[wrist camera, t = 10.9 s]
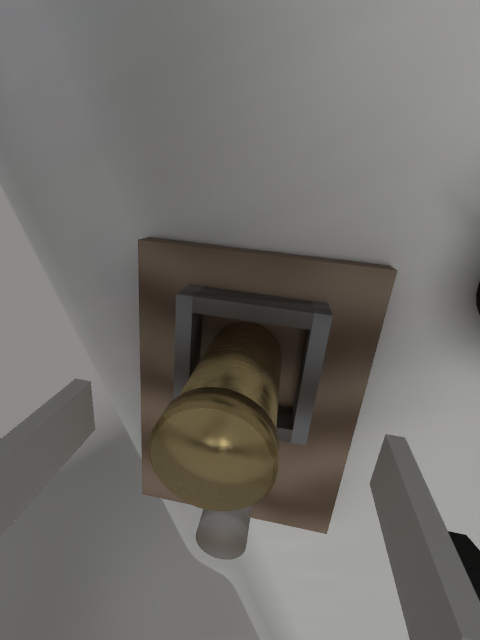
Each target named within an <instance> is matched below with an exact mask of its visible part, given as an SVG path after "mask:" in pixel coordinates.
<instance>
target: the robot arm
mask: <svg viewBox="0 0 480 640" xmlns="http://www.w3.org/2000/svg"><path fill="white" fill-rule="evenodd" d="M94 430H95V423H94V412H93V402H92V391H91V381H85V380H80V379H74V380H73V381H72V382H71V383H69V384H68V385H67V386H66V387H65V388H63V389H62V390H61V391H60V392H58V393H57V394H56V395H55V396H53V397H52V398H51V399H50V400H48V401H47V402H46V403H45V404H44V405H42V406H41V407H40V408H39V409H37V410H36V411H35V412H34V413H32V414H31V415H30V416H29V417H28V418H26V419H25V420H24V421H23V422H21V423H20V424H19V425H18V426H17V427H15V428H14V429H13V430H11V431H10V432H9V433H8V434H7V435H5V436H4V437H3V438H2V439H0V537H1V536H2V535H3V534H4V533H5V532H6V530H7V529H8V528H9V527H10V526H11V525H12V524H13V523H14V521H15V520H16V519H17V518H18V517H19V515H21V513H22V512H23V511H24V510H25V509H26V508H27V507H28V505H29V504H30V503H31V502H32V501H33V500H34V498H35V497H36V496H37V495H38V494H39V493H40V492H41V490H42V489H43V488H44V487H45V486H46V485H47V484H48V482H49V481H50V480H51V479H52V478H53V477H54V476H55V474H56V473H57V472H58V471H59V470H60V469H61V467H62V466H63V465H64V464H65V463H66V462H67V461H68V460H69V459H70V457H71V456H72V455H73V454H74V453H75V452H76V451H77V449H78V448H79V447H80V446H81V445H82V444H83V443H84V441H85V440H86V439H87V438H88V437H89V436H90V435H91V433H92V432H93V431H94ZM370 487H371V490H372V494H373V498H374V502H375V506H376V510H377V514H378V518H379V522H380V525H381V529H382V533H383V537H384V541H385V545H386V549H387V553H388V557H389V560H390V564H391V568H392V572H393V576H394V580H395V584H396V588H397V591H398V595H399V599H400V603H401V607H402V611H403V615H404V619H405V623H406V626H407V630H408V634H409V638H410V640H480V550H479V549H478V548H477V547H476V546H475V545H474V543H473V542H472V541H471V540H470V539H469V538H468V537H467V535H463V534H459V533H454V532H449V531H447V529H446V526H445V524H444V522H443V520H442V518H441V515H440V513H439V511H438V509H437V507H436V504H435V502H434V500H433V498H432V496H431V493H430V491H429V489H428V487H427V485H426V483H425V480H424V478H423V476H422V474H421V472H420V469H419V467H418V465H417V463H416V461H415V458H414V456H413V454H412V452H411V450H410V447H409V445H408V443H407V441H406V439H405V438H404V437H399V436H393V435H388V434H386V435H385V438H384V441H383V444H382V447H381V450H380V453H379V456H378V460H377V463H376V466H375V469H374V472H373V475H372V478H371V481H370Z"/></svg>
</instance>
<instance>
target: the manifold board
mask: <svg viewBox="0 0 480 640" xmlns="http://www.w3.org/2000/svg"><path fill="white" fill-rule="evenodd" d="M138 261H139V318H140V374H141V431H142V483H143V484H142V487H143V494H145V495H149V496H154V497H158V498H163V499H168V500H172V501H177V502H182V503H186V504H189V503H187V502H185V501H183V500H182V499H180V498H178V497H177V496H176V495H174V494H173V493H172V492H171V491H170V490H169V489H167V487H166V486H165V485H164V484H163V483H162V482H161V480H160V479H159V477H158V476H157V475H156V473H155V471H154V469H153V467H152V464H151V462H150V458H149V452H148V444H149V438H150V434H151V432H152V429H153V428H154V426H155V425H156V423H157V421H158V420H159V418H160V417H161V415H162V414H163V412H164V410H165V409H166V407H167V406H168V405H169V403H170V402H171V401H172V400H173V399H175V398H176V397H177V396H179V394H180V393H181V391H182V390H183V388H184V386H185V385H186V383H187V381H188V380H189V378H190V376H191V375H192V373H193V371H194V370H195V368H196V367H197V365H198V363H199V362H200V360H201V358H202V357H203V355H204V353H205V352H206V350H207V348H208V347H209V345H210V344H211V342H212V340H213V339H214V337H215V336H216V334H217V333H218V332H219V331H220V330H221V329H222V328H224V327H225V326H227V325H229V324H232V323H235V322H243V321H245V322H253V323H256V324H259V325H261V326H263V327H265V328H266V329H268V330H269V331H270V332H271V333H272V334H273V335H274V336H275V337H276V339H277V340H278V342H279V344H280V347H281V351H282V364H281V376H280V389H279V401H278V413H277V425H276V430H277V432H278V437H279V461H278V474H277V478H276V481H275V483H274V485H273V487H272V489H271V490H270V492H269V493H268V494H267V495H266V496H265V497H264V498H262V499H261V500H260V501H258V502H257V503H255V504H253V505H251V506H248V507H246V508H242V509H238V510H233V511H212V510H206V509H203V512H202V516H201V519H200V522H199V526H198V529H197V532H196V541H197V543H198V545H199V547H200V548H201V549H202V550H203V551H204V552H206V553H207V554H209V555H211V556H213V557H215V558H219V559H234V558H237V557H239V556H241V555H242V554H243V553H244V551H245V549H246V543H247V536H248V529H249V522H250V517H251V518H255V519H260V520H265V521H269V522H274V523H279V524H283V525H288V526H292V527H297V528H302V529H306V530H311V531H316V532H320V533H325V534H327V531H328V527H329V523H330V520H331V516H332V512H333V508H334V505H335V501H336V497H337V494H338V490H339V486H340V482H341V479H342V475H343V471H344V467H345V464H346V460H347V456H348V452H349V449H350V445H351V441H352V437H353V434H354V430H355V426H356V423H357V419H358V415H359V411H360V408H361V404H362V400H363V396H364V393H365V389H366V385H367V381H368V378H369V374H370V370H371V367H372V363H373V359H374V355H375V352H376V348H377V344H378V340H379V337H380V333H381V329H382V325H383V322H384V318H385V314H386V310H387V307H388V303H389V299H390V296H391V292H392V288H393V284H394V281H395V277H396V273H397V270H396V269H394V268H393V267H391V266H387V265H378V264H370V263H361V262H352V261H344V260H335V259H327V258H318V257H310V256H301V255H293V254H284V253H276V252H267V251H259V250H250V249H242V248H233V247H225V246H216V245H208V244H199V243H191V242H182V241H174V240H165V239H157V238H143V239H139V240H138Z"/></svg>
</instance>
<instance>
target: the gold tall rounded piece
mask: <svg viewBox="0 0 480 640" xmlns="http://www.w3.org/2000/svg"><path fill="white" fill-rule="evenodd" d="M281 364H282V351H281V347H280V344H279V342H278V340H277V339H276V337H275V336H274V335H273V334H272V333H271V332H270V331H269V330H268V329H266V328H265V327H263V326H261V325H259V324H256V323H253V322H245V321H243V322H235V323H232V324H229V325H227V326H225V327H224V328H222V329H221V330H220V331H219V332H218V333H217V334H216V336H215V337H214V339H213V340H212V342H211V344H210V345H209V347H208V348H207V350H206V352H205V353H204V355H203V357H202V358H201V360H200V362H199V363H198V365H197V367H196V368H195V370H194V371H193V373H192V375H191V376H190V378H189V380H188V381H187V383H186V385H185V386H184V388H183V390H182V391H181V393H180V394H179V396H177V397H176V398H175V399H173V400H172V401H171V402H170V403H169V405H168V406H167V407H166V409H165V410H164V412H163V414H162V415H161V417H160V418H159V420H158V421H157V423H156V425H155V426H154V428H153V429H152V432H151V434H150V438H149V444H148V452H149V458H150V462H151V464H152V467H153V469H154V471H155V473H156V475H157V476H158V477H159V479H160V480H161V482H162V483H163V484H164V485H165V486H166V487H167V489H169V490H170V491H171V492H172V493H173V494H174V495H176V496H177V497H178V498H180V499H182V500H183V501H185V502H187V503H189V504H191V505H194V506H196V507H199V508H203V509H206V510H212V511H233V510H238V509H242V508H246V507H248V506H251V505H253V504H255V503H257V502H258V501H260V500H261V499H262V498H264V497H265V496H266V495H267V494H268V493H269V492H270V490H271V489H272V487H273V485H274V483H275V481H276V478H277V474H278V461H279V437H278V432H277V430H276V425H277V413H278V401H279V389H280V376H281Z"/></svg>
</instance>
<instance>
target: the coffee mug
mask: <svg viewBox="0 0 480 640" xmlns="http://www.w3.org/2000/svg"><path fill="white" fill-rule="evenodd" d="M476 301H477V308H478V312H479V314H480V282H479V285H478V289H477V294H476Z"/></svg>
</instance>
